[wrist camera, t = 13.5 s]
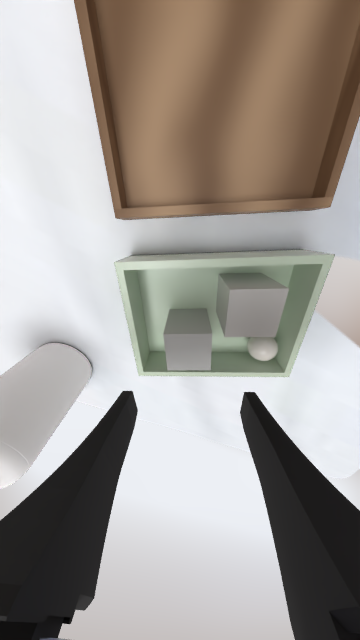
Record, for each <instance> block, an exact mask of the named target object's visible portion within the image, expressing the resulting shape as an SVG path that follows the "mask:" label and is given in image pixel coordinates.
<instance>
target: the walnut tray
mask: <svg viewBox="0 0 360 640" xmlns="http://www.w3.org/2000/svg"><path fill="white" fill-rule="evenodd" d="M74 3H75V8H76V13H77V19H78V24H79V29H80V34H81V40H82V45H83V50H84V55H85V61H86V66H87V71H88V76H89V81H90V87H91V92H92V97H93V102H94V108H95V113H96V118H97V123H98V129H99V134H100V139H101V144H102V150H103V155H104V160H105V165H106V171H107V176H108V181H109V186H110V192H111V197H112V202H113V207H114V213H115V218H117V219H122V220H132V219H152V218H171V217H191V216H211V215H230V214H250V213H269V212H289V211H309V210H317V209H322V208H328V207H330V206H331V203H332V200H333V197H334V194H335V191H336V188H337V185H338V181H339V178H340V175H341V172H342V169H343V166H344V163H345V160H346V157H347V154H348V150H349V147H350V144H351V141H352V138H353V135H354V132H355V129H356V126H357V123H358V119H359V116H360V0H74Z"/></svg>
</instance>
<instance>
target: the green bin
mask: <svg viewBox="0 0 360 640" xmlns="http://www.w3.org/2000/svg"><path fill="white" fill-rule="evenodd" d="M334 256H335V254H328V253H322V252H315V251H309V250H302V249H297V250H270V251H243V252H216V253H190V254H163V255H136V256H129V257H126V258H124V259H121V260H119V261H116V262H114V264H115V269H116V273H117V278H118V283H119V287H120V292H121V296H122V301H123V306H124V310H125V315H126V319H127V324H128V328H129V333H130V338H131V342H132V347H133V351H134V356H135V361H136V365H137V370H138V374H139V376H217V377H289V376H290V373H291V370H292V368H293V365H294V362H295V360H296V357H297V355H298V352H299V349H300V347H301V344H302V341H303V339H304V336H305V333H306V331H307V328H308V325H309V323H310V320H311V317H312V315H313V312H314V309H315V307H316V304H317V301H318V299H319V296H320V293H321V291H322V288H323V286H324V283H325V280H326V277H327V275H328V272H329V270H330V267H331V264H332V261H333V259H334ZM225 273H263V274H264V275H266V276H268V277H270V278H272V279H273V280H275V281H277V282H279V283H280V284H282V285H284V286H286V287H288V288H289V291H288V294H287V298H286V302H285V305H284V309H283V312H282V316H281V319H280V323H279V326H278V330H277V333H276V337H273V338H274V339H275V340H276V342H277V344H278V351H277V354H276V355H275V357H274V358H272V359H270V360H268V361H260V360H257V359H255V358H253V357H252V356H251V355H250V354H249V352H248V349H247V343H248V340H249V339H250V337H224V334H223V331H222V328H221V325H220V322H219V319H218V316H217V313H216V302H217V288H218V274H225ZM199 308H207V313H208V317H209V321H210V326H211V330H212V351H211V370H167V362H166V354H165V345H164V337H163V333H164V329H165V325H166V321H167V317H168V313H169V309H199Z"/></svg>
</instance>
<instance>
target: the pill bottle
mask: <svg viewBox="0 0 360 640" xmlns="http://www.w3.org/2000/svg"><path fill="white" fill-rule="evenodd" d="M91 374H92V368H91V365H90V362H89V361H88V359H87V358H86V357H85V356H84V355H83V354H82V353H81V352H80V351H78V350H77V349H75V348H73V347H71V346H68V345H65V344H61V343H49V344H45V345H43V346H41V347H39V348H37V349H36V350H34V351H33V352H32V353H30V354H29V355H28V356H26V357H25V358H24V359H22V360H21V361H20V362H18V363H17V364H16V365H14V366H13V367H12V368H10V369H9V370H8V371H6V372H5V373H4V374H2V375H1V376H0V489H1V488H4V487H7V486H9V485H11V484H13V483H14V482H16V481H17V480H18V479H20V478H21V477H22V476H23V475H24V473H25V472H27V471H28V469H29V468H30V467H31V465H32V464H33V462H34V461H35V459H36V458H37V456H38V455H39V454H40V452H41V451H42V449H43V447H44V446H45V445H46V443H47V442H48V440H49V439H50V437H51V436H52V434H53V433H54V431H55V430H56V428H57V427H58V426H59V424H60V423H61V421H62V420H63V418H64V416H65V415H66V414H67V412H68V411H69V409H70V407H71V406H72V405H73V403H74V402H75V401H76V399H77V398H78V396H79V395H80V393H81V392H82V390H83V389H84V387H85V386H86V384H87V383H88V381H89V379H90V377H91Z"/></svg>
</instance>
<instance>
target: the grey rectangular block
mask: <svg viewBox="0 0 360 640" xmlns="http://www.w3.org/2000/svg"><path fill="white" fill-rule="evenodd" d="M288 291H289V288H288V287H286V286H284V285H282V284H280V283H279V282H277V281H275V280H273V279H272V278H270V277H268V276H266V275H264V274H263V273H225V274H218V288H217V302H216V313H217V316H218V319H219V322H220V325H221V328H222V331H223V334H224V337H276V333H277V330H278V326H279V323H280V319H281V316H282V312H283V309H284V305H285V302H286V298H287V294H288Z"/></svg>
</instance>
